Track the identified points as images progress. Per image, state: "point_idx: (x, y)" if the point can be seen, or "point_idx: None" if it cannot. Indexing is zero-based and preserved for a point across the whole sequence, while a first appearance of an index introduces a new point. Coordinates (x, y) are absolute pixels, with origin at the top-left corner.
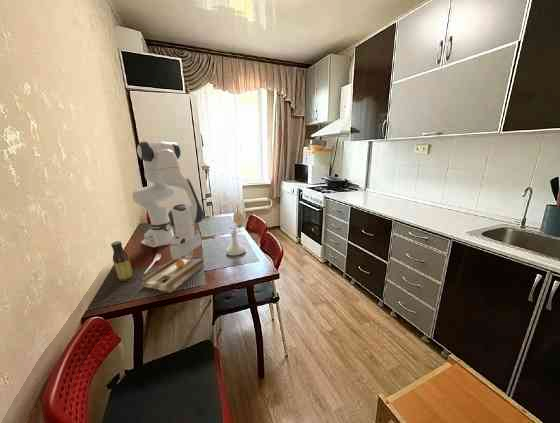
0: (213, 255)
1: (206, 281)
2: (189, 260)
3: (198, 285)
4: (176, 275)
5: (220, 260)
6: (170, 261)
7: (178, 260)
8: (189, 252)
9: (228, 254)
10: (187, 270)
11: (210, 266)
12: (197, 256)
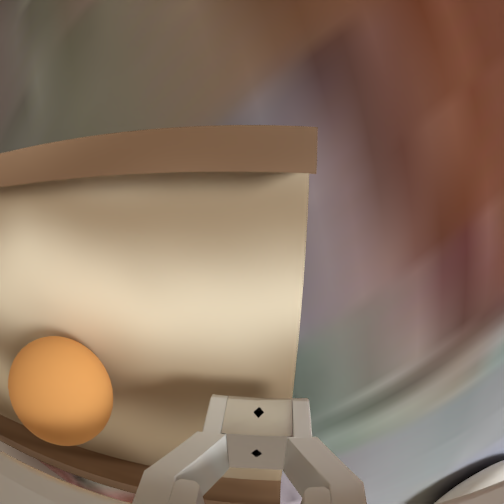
0: (478, 411)
1: (127, 497)
2: (274, 373)
3: None
4: (6, 388)
5: (384, 487)
6: (52, 153)
7: (26, 417)
8: (316, 479)
9: (443, 496)
10: (63, 469)
11: (285, 484)
12: (484, 281)
